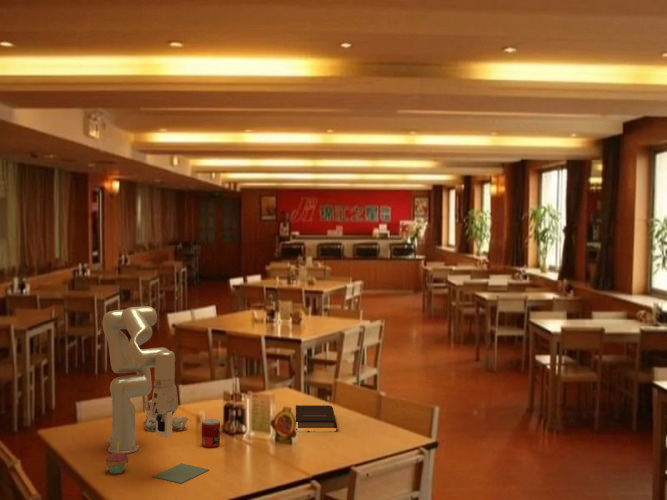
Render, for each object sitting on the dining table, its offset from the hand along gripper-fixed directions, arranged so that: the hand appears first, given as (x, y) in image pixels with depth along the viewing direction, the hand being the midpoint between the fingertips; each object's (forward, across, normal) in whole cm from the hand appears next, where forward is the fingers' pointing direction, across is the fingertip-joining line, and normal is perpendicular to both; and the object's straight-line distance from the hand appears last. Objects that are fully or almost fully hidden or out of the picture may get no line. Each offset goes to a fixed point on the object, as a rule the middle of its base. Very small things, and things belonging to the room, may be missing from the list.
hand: (164, 429), depth 274 cm
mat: (+17, +4, -5) cm, 19 cm away
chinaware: (+17, +46, +45) cm, 67 cm away
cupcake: (+18, -8, +17) cm, 26 cm away
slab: (+2, 0, 0) cm, 2 cm away
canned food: (+17, +38, +8) cm, 42 cm away
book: (+18, +93, -12) cm, 95 cm away
